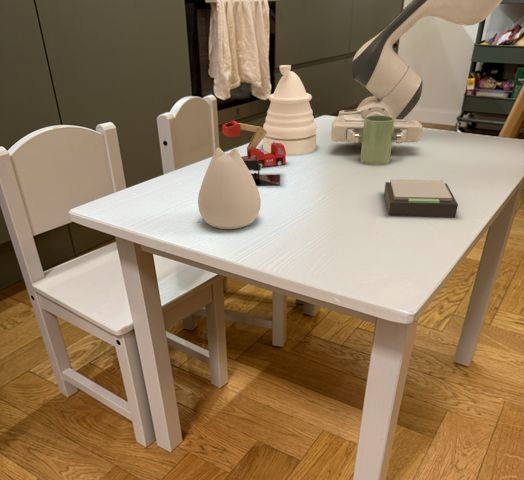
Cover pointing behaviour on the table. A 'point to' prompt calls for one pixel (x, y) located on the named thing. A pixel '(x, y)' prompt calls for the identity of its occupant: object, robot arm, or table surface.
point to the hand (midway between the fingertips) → (377, 139)
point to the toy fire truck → (266, 159)
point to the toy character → (228, 192)
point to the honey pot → (290, 116)
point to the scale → (419, 198)
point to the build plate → (259, 179)
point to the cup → (377, 139)
